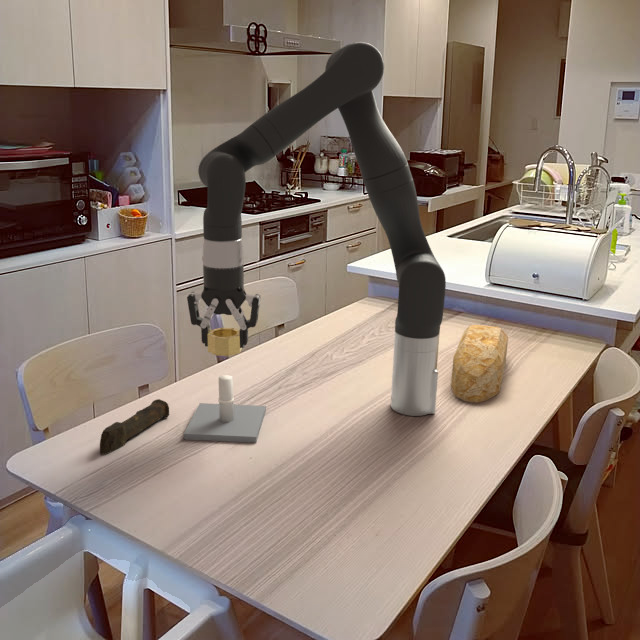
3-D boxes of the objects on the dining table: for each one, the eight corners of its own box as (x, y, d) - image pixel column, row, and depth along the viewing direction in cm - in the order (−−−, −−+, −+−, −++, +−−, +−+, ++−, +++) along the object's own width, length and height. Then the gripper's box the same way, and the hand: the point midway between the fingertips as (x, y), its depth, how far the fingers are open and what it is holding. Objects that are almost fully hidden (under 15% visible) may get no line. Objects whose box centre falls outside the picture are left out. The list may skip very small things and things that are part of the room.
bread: (496, 406, 154) (500, 363, 151) (446, 399, 157) (449, 357, 154) (507, 352, 187) (511, 316, 184) (466, 347, 190) (469, 311, 187)
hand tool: (155, 414, 147) (153, 393, 146) (170, 418, 146) (169, 397, 144) (89, 454, 131) (87, 431, 130) (106, 459, 129) (104, 436, 128)
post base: (265, 411, 149) (265, 366, 146) (256, 442, 136) (255, 393, 133) (200, 408, 150) (198, 363, 147) (184, 439, 136) (181, 390, 133)
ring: (243, 345, 141) (243, 328, 139) (238, 356, 135) (238, 339, 134) (212, 343, 141) (212, 327, 140) (205, 354, 135) (205, 337, 134)
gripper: (264, 258, 136) (264, 341, 141) (189, 255, 136) (192, 338, 141) (258, 267, 128) (259, 354, 134) (180, 265, 129) (183, 351, 134)
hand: (224, 345), depth 138 cm, fingers closed on ring, 6 cm apart
